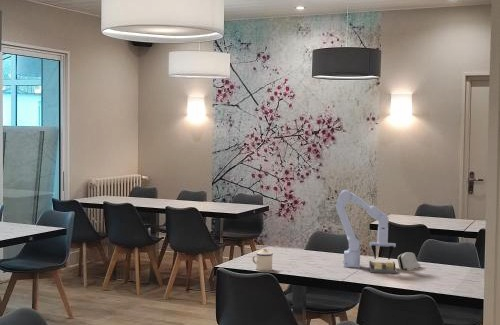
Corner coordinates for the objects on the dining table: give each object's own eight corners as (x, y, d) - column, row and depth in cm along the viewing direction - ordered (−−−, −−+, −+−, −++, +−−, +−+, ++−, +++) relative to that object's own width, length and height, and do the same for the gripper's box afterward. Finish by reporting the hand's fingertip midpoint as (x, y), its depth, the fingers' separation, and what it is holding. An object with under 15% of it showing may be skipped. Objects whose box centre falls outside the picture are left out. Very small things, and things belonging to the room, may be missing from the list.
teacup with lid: (275, 269, 372) (275, 248, 372) (267, 271, 364) (268, 250, 364) (256, 266, 378) (256, 246, 378) (248, 269, 370) (248, 248, 370)
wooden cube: (374, 270, 371) (374, 271, 367) (374, 263, 371) (374, 264, 367) (381, 270, 371) (381, 272, 367) (381, 263, 371) (381, 264, 367)
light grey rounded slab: (407, 270, 375) (402, 253, 377) (400, 272, 378) (395, 255, 380) (420, 266, 388) (416, 250, 390) (413, 268, 391) (408, 251, 393)
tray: (370, 272, 367) (370, 269, 367) (369, 269, 377) (369, 265, 377) (396, 273, 365) (396, 270, 365) (395, 270, 375) (395, 267, 375)
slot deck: (369, 269, 378) (369, 263, 377) (369, 266, 386) (369, 260, 386) (395, 270, 375) (395, 264, 375) (394, 267, 384) (394, 261, 384)
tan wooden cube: (385, 269, 375) (386, 270, 371) (386, 262, 375) (386, 263, 371) (393, 269, 374) (393, 271, 370) (393, 262, 374) (393, 263, 370)
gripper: (395, 235, 385) (394, 258, 386) (369, 233, 387) (368, 257, 388) (396, 236, 378) (395, 260, 379) (369, 235, 381) (369, 259, 381)
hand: (381, 259), depth 383 cm, fingers open, 7 cm apart
